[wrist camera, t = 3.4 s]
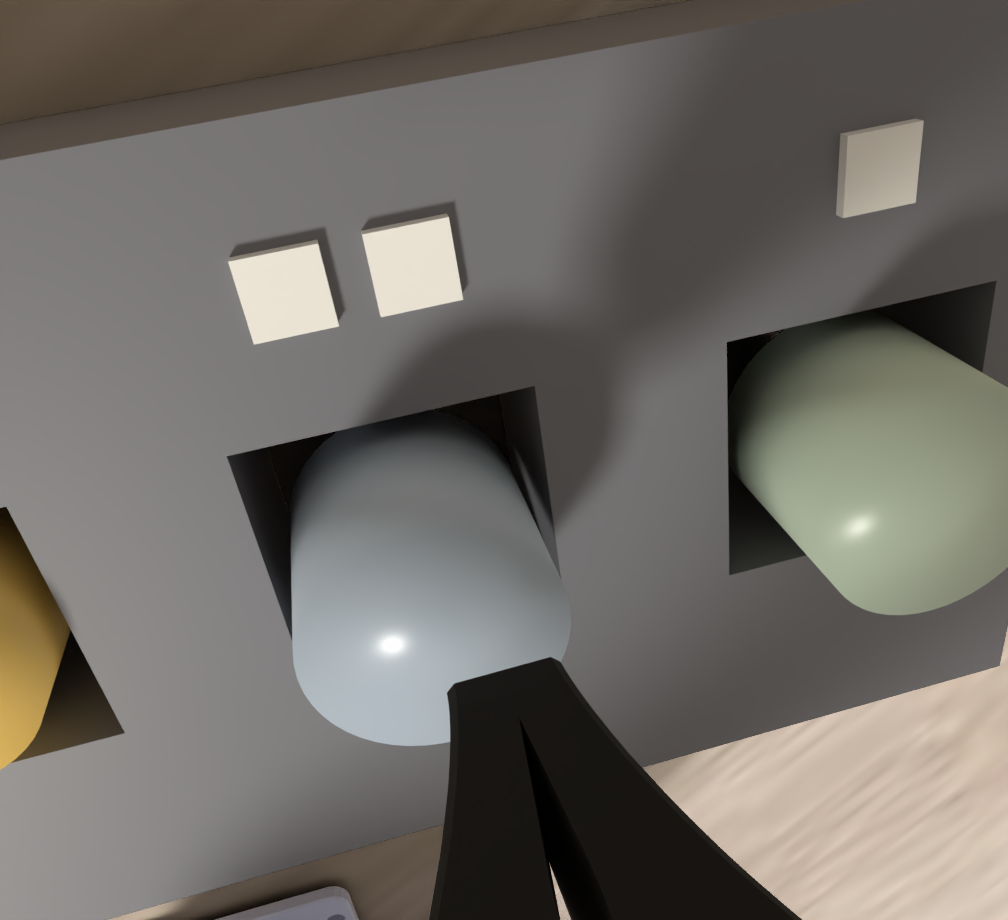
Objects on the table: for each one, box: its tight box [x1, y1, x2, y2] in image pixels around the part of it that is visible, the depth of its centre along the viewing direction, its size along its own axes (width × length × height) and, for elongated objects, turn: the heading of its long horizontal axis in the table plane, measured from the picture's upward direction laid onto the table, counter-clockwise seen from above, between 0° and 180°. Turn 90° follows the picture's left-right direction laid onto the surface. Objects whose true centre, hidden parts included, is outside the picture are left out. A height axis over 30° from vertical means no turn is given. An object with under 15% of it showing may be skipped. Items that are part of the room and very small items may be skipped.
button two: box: [290, 410, 571, 746], centre depth 14 cm, size 4×4×4 cm
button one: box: [727, 310, 1008, 615], centre depth 15 cm, size 4×4×4 cm
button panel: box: [0, 0, 1008, 920], centre depth 16 cm, size 14×24×4 cm, turn 98°
